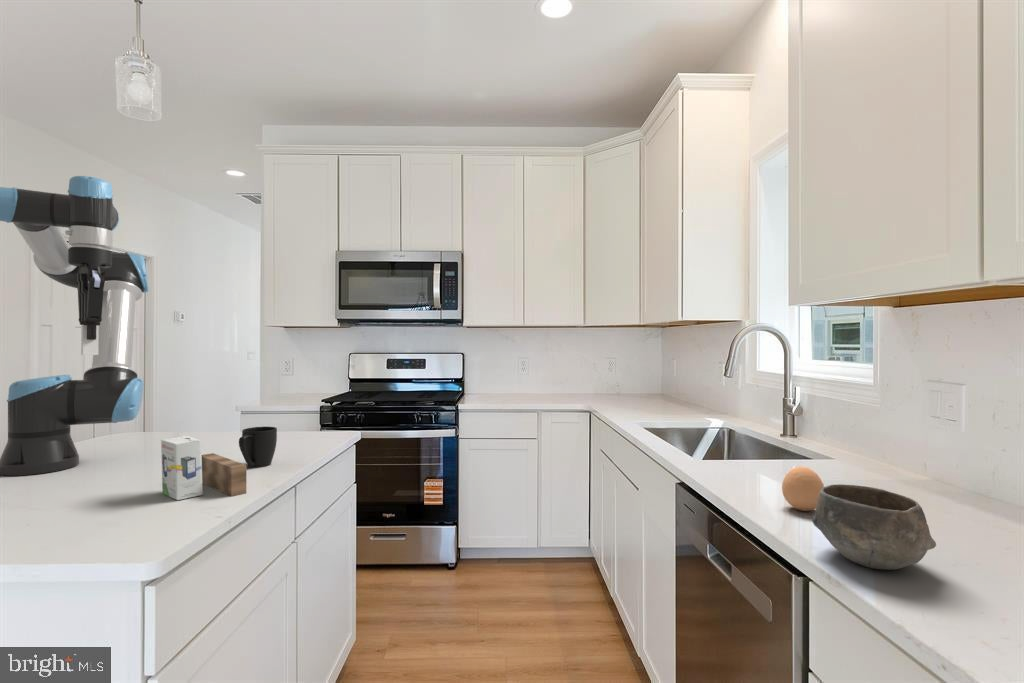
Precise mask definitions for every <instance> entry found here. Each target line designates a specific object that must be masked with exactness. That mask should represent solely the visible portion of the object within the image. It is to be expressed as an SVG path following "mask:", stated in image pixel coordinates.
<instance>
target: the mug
mask: <svg viewBox="0 0 1024 683" xmlns="http://www.w3.org/2000/svg"><path fill="white" fill-rule="evenodd" d="M277 433H278V428H277V427H275V426H253V427H247V428H244V429H242V431H241V437H239V439H238V447H239V449H240V452H241V455H242V456H243V458H244V461H245V464H246V465H247V467H248V468H251V469H256V468H265V467H266V468H267V467H268V466H269V467H270V466H271V465H272V462H273V459H274V455H275V453H276V452H275V451H276V448H277V440H278V438H277V437H278V434H277Z"/></svg>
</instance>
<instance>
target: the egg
mask: <svg viewBox="0 0 1024 683" xmlns="http://www.w3.org/2000/svg"><path fill="white" fill-rule="evenodd" d="M823 487H825V485H824V483H823V481H822V479H821V477H820V476H819V474H818V473H817V472H815V471H814V470H813V469H811V468H809V467H806V466H801V465H800V466H796V467H793V468H791V469H790V470H788V472H787V473H786V474H785V477H783V480H782V484H781V491H782V496H783V497H784V500H785V501H786V502H787V503H788V504H789V505H790V506H791V507H793V509H795V510H798V511H803V512H809V511H814V510H816V506H817V501H818V497H819V494H820V491H821V489H822V488H823Z"/></svg>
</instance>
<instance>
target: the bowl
mask: <svg viewBox="0 0 1024 683" xmlns="http://www.w3.org/2000/svg"><path fill="white" fill-rule="evenodd" d="M814 512H815V513H814V516H813V517H812V520H811V521H812V524H813V526H814V527H815V528H816V529H818V530H819V531H820V532H821V533H822V535H823V536H824V538H826V539H827V541H828V542H829V543H830V545H831V546H832V547H834V549H836V550H837V551H838V552H839V554H841V555H842V556H843V557H844V558H846V559H848V560H850V561H851V562H853V563H856V564H858V565H859V566H862V567H866V568H869V569H878V570H899V569H903V568H905V567H908V566H911V565H914V564H915V565H916V564H917V563H920V561H922V559H923V558H925V556H926V554H927V553H928V551H930V550H933V549H935V548H936V546H937V542H936V541H935V540H934V538H933V537H932V534H931V531H930V528H929V524H928V522H927V518H926V515H925V512H924V510H923V508H922V506H921V505H920V504H919V502H918V501H917V500H915V499H913V498H910V497H907V496H906V495H905V496H904V495H902V494H899V493H895V492H892V491H888V490H885V489H882V488H878V487H873V486H872V487H871V486H862V485H857V484H842V483H841V484H839V483H838V484H830V485H826V486H824V487H823V488H822V489H821V491H820V494H819V497H818V501H817V506H816V509H815V511H814Z"/></svg>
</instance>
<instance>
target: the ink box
mask: <svg viewBox="0 0 1024 683" xmlns="http://www.w3.org/2000/svg"><path fill="white" fill-rule="evenodd" d="M160 444H161V448H160V449H161V476H162V477H161V480H162V481H161V482H162V494H163V495H166V496H167V497H169V498H171V499H174V500H176V501H181V500H185V499H186V500H187V499H190V498H195V497H199V496H200V497H201V496H203V495H204V493H203V491H204V489H203V483H202V456H201V455H202V441H201V440H200V439H198V438H195V437H192V436H188V435H183V436H178V437H171V438H166V439H161V440H160Z"/></svg>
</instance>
